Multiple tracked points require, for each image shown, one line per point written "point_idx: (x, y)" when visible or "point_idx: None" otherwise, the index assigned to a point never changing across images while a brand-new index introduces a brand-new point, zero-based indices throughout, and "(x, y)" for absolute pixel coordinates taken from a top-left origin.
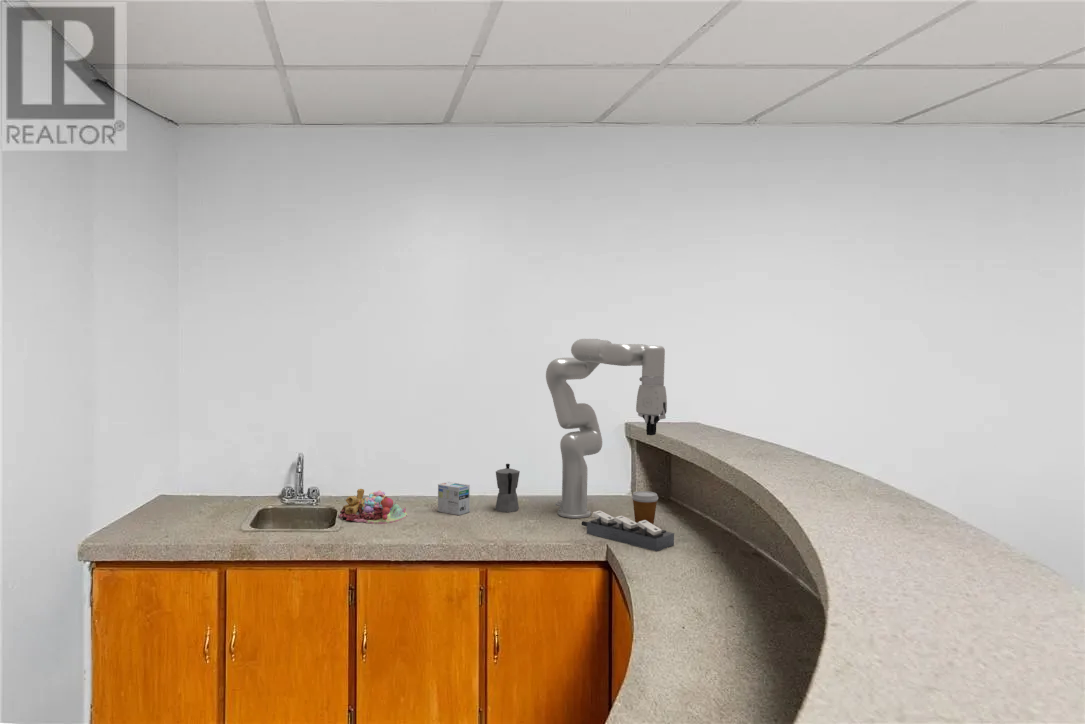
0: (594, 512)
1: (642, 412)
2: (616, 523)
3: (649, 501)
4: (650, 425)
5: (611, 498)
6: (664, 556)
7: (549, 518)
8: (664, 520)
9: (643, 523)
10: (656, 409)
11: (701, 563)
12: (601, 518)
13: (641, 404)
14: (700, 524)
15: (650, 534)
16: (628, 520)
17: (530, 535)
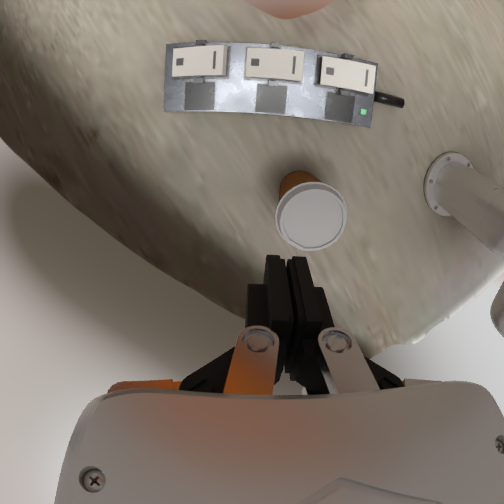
0: (372, 68)
1: (411, 398)
2: (315, 85)
3: (284, 195)
4: (272, 308)
5: (425, 315)
6: (144, 36)
7: (469, 130)
8: None
9: (211, 53)
10: (111, 469)
11: (78, 61)
12: (344, 59)
13: (463, 499)
14: (221, 278)
15: None
16: (271, 68)
17: (431, 4)
